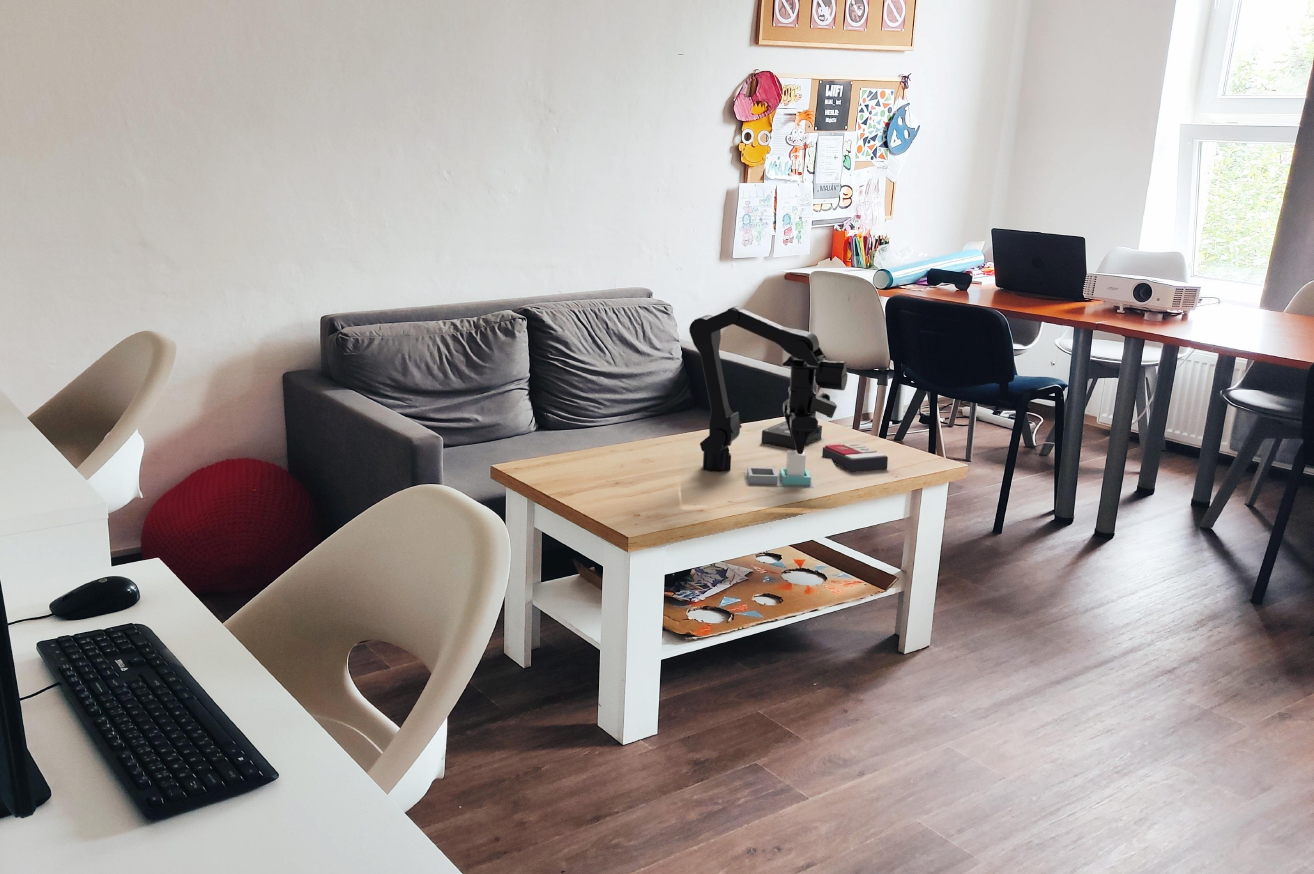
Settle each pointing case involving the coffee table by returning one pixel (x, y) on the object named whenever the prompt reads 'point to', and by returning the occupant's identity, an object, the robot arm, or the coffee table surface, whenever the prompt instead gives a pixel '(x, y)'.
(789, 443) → the black antenna base
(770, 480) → the compartment tray
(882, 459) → the calculator
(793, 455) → the plug
